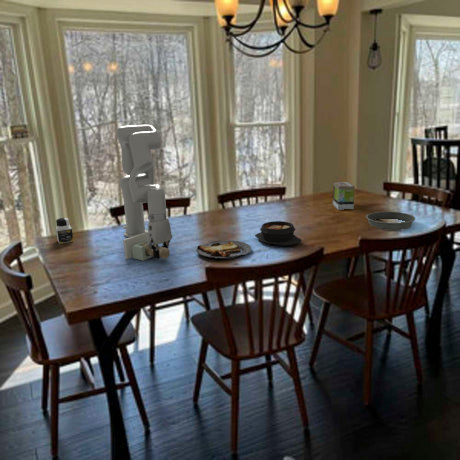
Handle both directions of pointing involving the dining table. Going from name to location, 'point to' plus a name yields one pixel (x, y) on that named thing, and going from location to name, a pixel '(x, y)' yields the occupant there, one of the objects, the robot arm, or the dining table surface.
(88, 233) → the dining table surface
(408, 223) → the cake pan
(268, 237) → the casserole
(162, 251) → the dowel
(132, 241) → the base
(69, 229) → the black and yellow box
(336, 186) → the tea box
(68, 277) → the dining table surface
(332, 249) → the dining table surface
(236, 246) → the food plate
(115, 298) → the dining table surface
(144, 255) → the block
